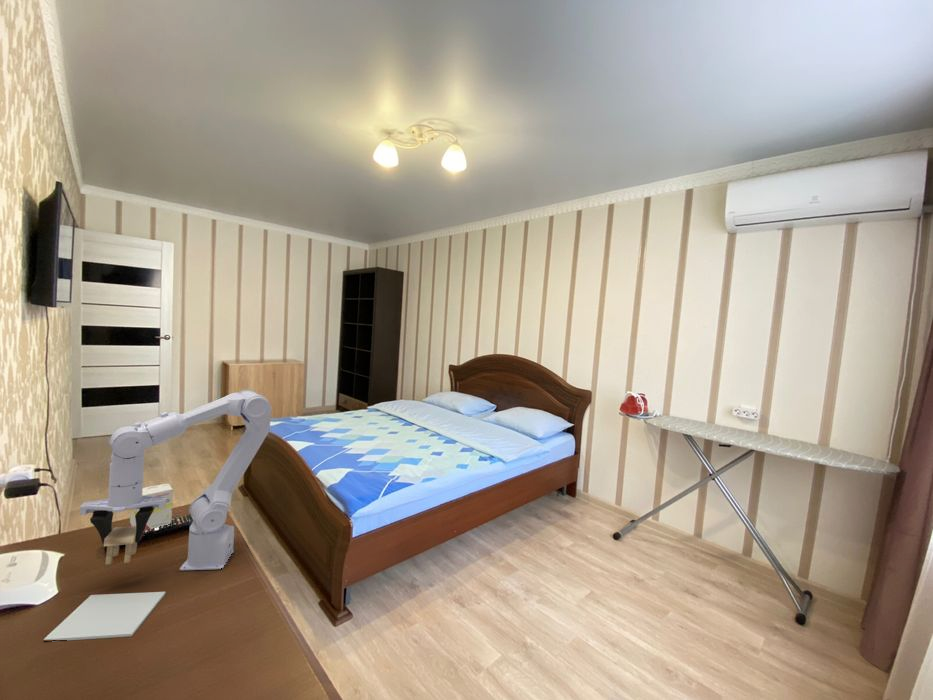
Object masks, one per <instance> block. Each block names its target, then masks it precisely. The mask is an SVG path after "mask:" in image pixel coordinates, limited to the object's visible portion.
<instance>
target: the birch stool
mask: <svg viewBox="0 0 933 700" xmlns="http://www.w3.org/2000/svg"><path fill="white" fill-rule="evenodd" d="M135 536H136V526H130V525H129V526H115V527H113V528H112V531H111V532H110V533H109V534H108V535H107V537H106V538H105V539H104V546H103V547H106V553H105V555H106V556H105V562H104V563H105V565H107V566H108V565H112V564H113V560H114V557H118V555H119V553H120V552H119V551H120V546H124V545H125V551H124V560H123V561H124V562H123V563H124V564H127V563H129V564H130V562H131V560H132V555H136V553H137V549H138V548H137V547H138V542H135Z"/></svg>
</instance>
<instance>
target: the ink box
mask: <svg viewBox="0 0 933 700" xmlns="http://www.w3.org/2000/svg"><path fill="white" fill-rule="evenodd" d="M142 496H152V497H166V505H165V507H164V508H162V509H158V508H155V509H154V511H153V512H152V514H151V516H150V518H149V520H148V522H147V524H146V526H145V529H144V530H149V529H153V528H157V527H160V526H164V525H168V524H170V523H171V524H172V516H173V504H174V503H173V501H174V498H173V497H174V488H173V487H172V486H171V484H170V483H162V484H158V485H157V484H156V485H152V486H146V487H143V490H142ZM171 509H172V510H171ZM139 510H140V509H133V510H130V515H129V516H130V517H129V526H136V519H135V515H136V514H137V512H138V511H139Z"/></svg>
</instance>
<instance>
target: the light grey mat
mask: <svg viewBox="0 0 933 700" xmlns="http://www.w3.org/2000/svg"><path fill="white" fill-rule="evenodd" d="M166 594H167V593H166V591H153V592H151V591H150V592H149V591H148V592H129V593H127V592H126V593H108V594H106V593H105V594H104V593H103V594H90V595H89V596H88V597H87V598H86V599H85V600H84V601H83V602H82V603H80V605H78V607H76V608H75V609H74V610H73V612H71V613H70V614H69V615H68V616H67V617H65V618H64V620H62V622H61V623H60V624H58V625H57V626H56V627H55V628H54V629H52V631H51V632H50V633H49V634H48V635H47V636H46V637H44V638H43V640H67V641H79V640H80V641H81V640H96V639H109V638H112V639H113V638H126V637H128V638H129V637H132V636H133V635H134V634H135V633H136V631H137V630H138V629H139V628H140V626H141V625H142V624H143V623H144V621H145V620H146V619H147V618H148V616H149V615H150V614H151V613H152V611H153V610H154V609H155V607H157V605H158V604H159V603H160V601H161V600H162V599H163V598H164V597H165V595H166Z"/></svg>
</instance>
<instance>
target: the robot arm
mask: <svg viewBox="0 0 933 700" xmlns="http://www.w3.org/2000/svg"><path fill="white" fill-rule="evenodd" d="M272 411H273V408H272V406H271V404H270V401H269V399H267V398H266V397H265V396H264V395H262V394H258V392H255V391H254V390H252V389H243V390H240V391H238V392H231V393H230V394H228V395H225V396H224V397H221V398H219V399H216V400H215V399H214V400H213V401H210V402H208V403H205V404H203V405H201V406H199V407H196V408H193V409H191V410H188V411H187V412H184V413H179V412H175V411H172V412H168V411H163V412H161V413H160V414H159V415H160V416H158V417H155V418H152V419H149V420H146V421H144V422H140V421H138V422H135V423H134V426H130V425H128V426H122V427H120V428H118V429H117V430H115V431H114V432H113V434H111V437H110V439H109V441H108V443H109V445H110V447H111V451H112V452H111V455H110V460H111V461H110V462H109V474H108V475H109V476H108V477H109V478H108V493H107V494H108V495H107V498H106V499H105V498H104V499H99V500H94V501H85V502H83V503H82V504H81V505H80V506H79V515H80V516H84V515H87V514H90V513H91V514H92V515H91V517H90V523H91V524H92V525H93V527H94V528H95V529H96V530H97V532H98V534H99V537H100V540H101V544H102V546H103V547H105V546H104V539H105V538H106V537H107V535H108V534H109V533H110V532H111V531H112V530H113V528H112V524H113V517H114V514H115V513H123V512H125V511H129V510H130V511H131V510H133V509H140V510H139V511H138V512H137V514H136V515H135V519H136V536H135V542H137V543H140V541H141V540H142V539H143V537H144V535H143V532H144V529H145V526H146V524H147V522H148V520H149V518H150V516H151V514H152V512H153V511H154V509H155V508H158V509H162V508H164V507H165V505H166V497H152V496H142V490H143V488H144V487H143V486H144V484H143V483H144V470H145V469H144V468H145V459H144V453H145V451H146V450H147V449H148V448H151V447H154V446H156V445H159V444H162V443H164V442H166V441H168V440H172V439H175V438H176V437H179V436H182V435H183V434H185V432H186V430H187V429H188V428H189V427H191V426H194V425H197V424H200V423H204V422H205V421H209V420H211V419H214V418H217V417H220V416H224V415H229V416H234V417H242V420H243V422H244V426H245V430H244V432H243V434H242V435H241V437H240V439H239V440H238V442H237V443H236V445H235V447H234V448H233V450H232V451H231V453H230V454H229V456H228V458H227V460H226V461H225V463H224V464H223V466H222V467H221V469H220V471H219V472H218V474H217V475H216V477H215V478H214V480H213V482H212V484H211V485H209V486H207V487H206V488H204V489H203V491H202V493H201V494H200V495H199V496H198V497H196V498H195V499H193V501H192V502H191V503H190V505H189V509H188V512H189V513H188V514H189V515H190V516H191V517H192V519H193V520H192V523H191V524H190V525H189V530H188V531H189V532H188V546H187V547H188V548H187V559H186V560H185V561H184V563H182V565H181V566H180V567H179V571H182V572H183V571H203V570H204V571H206V570H209V571H210V570H222V569H224V568H225V566H226V564H227V563H228V561H229V560H230V558H231V557H232V555H233V554H234V551H235V549H234V542H235V541H234V540H235V526H234V525H229V524H226V521H227V518H228V517H227V516H228V511H229V509H230V507H231V505H232V494H233V493H234V491H235V489H236V488H237V486H238V484H239V483H240V481H241V479H242V477H244V474H245V473H246V471H247V470H248V467H249V466H250V464H251V463H252V461H253V459H254V458H255V456H256V454H257V452H258V451H259V449H260V448H261V446H262V445H263V443H264V441H265V439H266V437H267V436H268V434H269V432H270V430H271V413H272ZM232 553H233V554H232ZM231 554H232V555H231ZM230 556H231V557H230ZM229 557H230V558H229ZM228 559H229V560H228ZM226 562H227V563H226ZM224 565H225V566H224ZM221 568H222V569H221Z"/></svg>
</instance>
